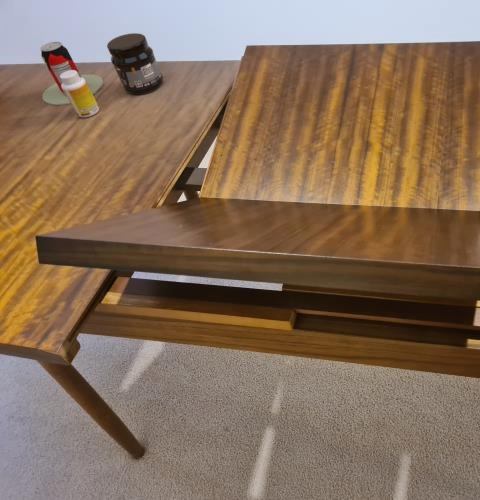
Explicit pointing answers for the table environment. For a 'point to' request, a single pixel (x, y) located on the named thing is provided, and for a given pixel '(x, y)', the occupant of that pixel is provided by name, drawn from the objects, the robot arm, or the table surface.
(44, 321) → the table surface
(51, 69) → the beverage can
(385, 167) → the table surface
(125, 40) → the supplement container
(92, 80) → the mat
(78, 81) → the supplement bottle
